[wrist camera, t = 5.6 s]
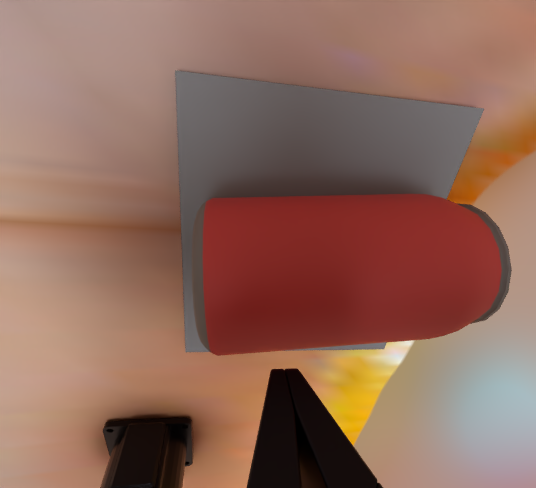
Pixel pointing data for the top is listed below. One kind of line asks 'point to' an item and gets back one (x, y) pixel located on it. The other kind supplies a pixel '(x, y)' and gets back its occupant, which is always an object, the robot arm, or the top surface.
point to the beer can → (342, 270)
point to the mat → (306, 150)
